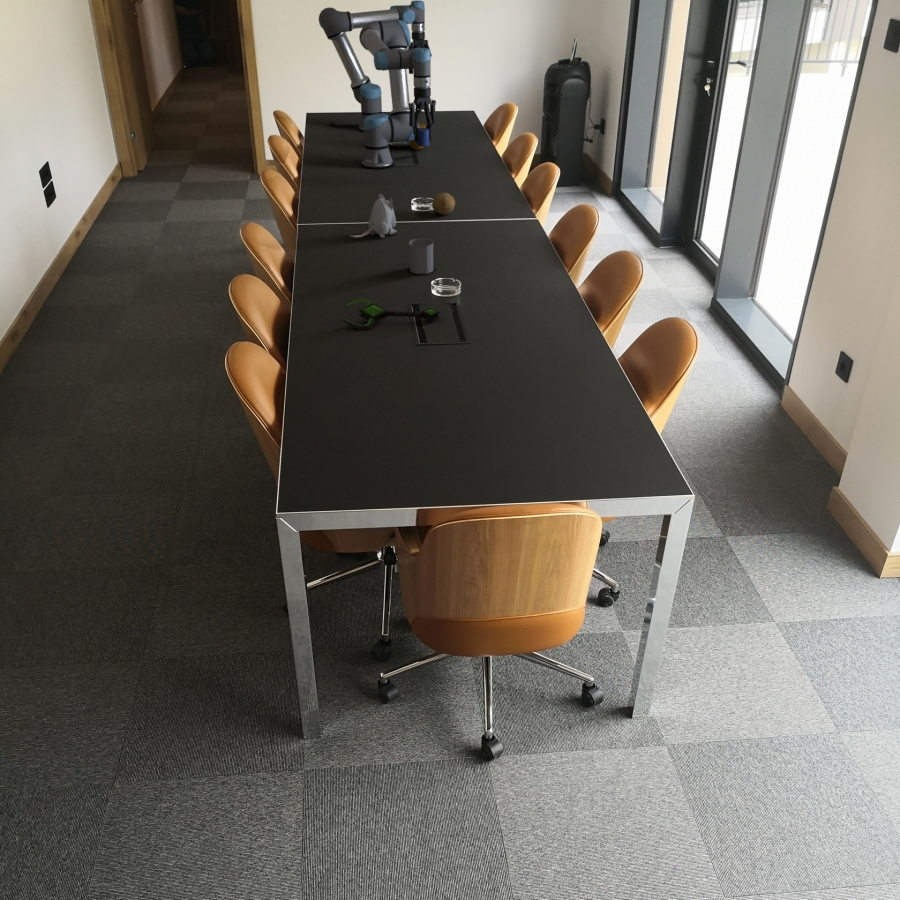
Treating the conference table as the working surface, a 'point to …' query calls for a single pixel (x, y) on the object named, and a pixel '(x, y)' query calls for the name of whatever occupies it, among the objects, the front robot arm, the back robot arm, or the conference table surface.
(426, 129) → the canister
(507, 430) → the conference table surface
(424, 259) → the cup
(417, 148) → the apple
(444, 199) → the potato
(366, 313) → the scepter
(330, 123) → the back robot arm
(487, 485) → the conference table surface
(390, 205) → the toy
